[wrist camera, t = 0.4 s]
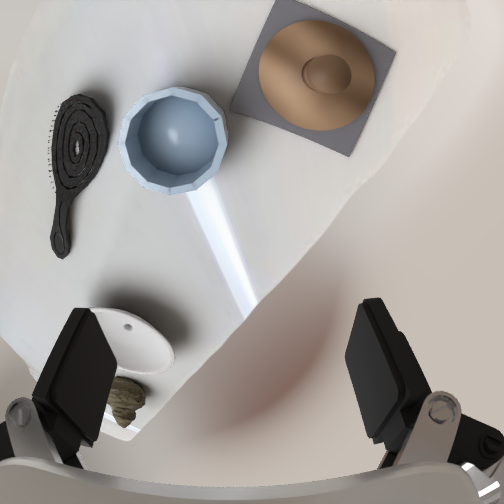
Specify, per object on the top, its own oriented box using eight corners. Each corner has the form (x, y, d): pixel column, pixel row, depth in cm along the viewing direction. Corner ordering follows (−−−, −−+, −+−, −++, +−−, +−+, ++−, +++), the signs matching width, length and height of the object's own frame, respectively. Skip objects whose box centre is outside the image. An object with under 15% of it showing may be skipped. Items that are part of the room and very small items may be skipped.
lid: (283, 4, 24) (291, -9, 20) (386, 54, 27) (409, 53, 22) (241, 104, 31) (241, 108, 26) (345, 146, 33) (362, 158, 29)
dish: (194, 321, 48) (191, 344, 43) (159, 363, 54) (155, 384, 49) (95, 270, 42) (83, 290, 38) (76, 323, 48) (66, 342, 43)
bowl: (148, 78, 29) (134, 78, 24) (241, 104, 31) (241, 107, 27) (125, 165, 34) (110, 178, 30) (209, 189, 36) (205, 206, 32)
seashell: (91, 410, 54) (131, 428, 58) (92, 421, 45) (139, 440, 48) (108, 368, 60) (146, 386, 63) (111, 371, 51) (157, 392, 54)
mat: (277, -5, 24) (278, -6, 24) (394, 52, 27) (395, 52, 27) (229, 109, 31) (229, 109, 31) (347, 156, 35) (348, 157, 34)
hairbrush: (33, 256, 37) (51, 89, 25) (44, 243, 40) (67, 85, 28) (77, 276, 39) (109, 106, 27) (86, 261, 42) (122, 101, 30)
